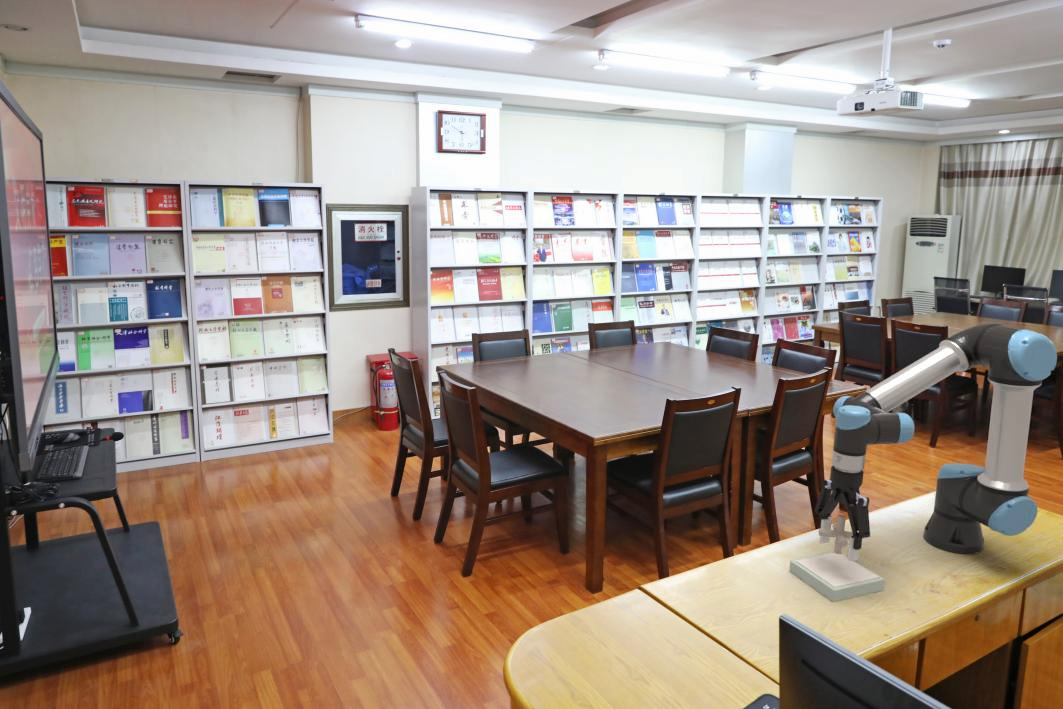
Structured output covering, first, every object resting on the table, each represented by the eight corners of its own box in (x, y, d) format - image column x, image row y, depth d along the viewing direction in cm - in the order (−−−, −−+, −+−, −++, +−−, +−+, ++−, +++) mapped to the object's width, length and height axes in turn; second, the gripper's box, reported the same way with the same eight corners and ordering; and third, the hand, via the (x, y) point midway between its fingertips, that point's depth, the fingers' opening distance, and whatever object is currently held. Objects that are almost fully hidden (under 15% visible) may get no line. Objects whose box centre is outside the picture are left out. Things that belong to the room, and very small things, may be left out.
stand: (837, 561, 202) (838, 550, 201) (883, 590, 187) (885, 578, 187) (789, 571, 196) (790, 559, 196) (833, 601, 182) (834, 589, 181)
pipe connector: (863, 564, 184) (867, 526, 182) (820, 559, 186) (824, 522, 184) (854, 545, 194) (858, 510, 192) (814, 541, 196) (817, 506, 194)
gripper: (805, 454, 194) (797, 534, 199) (869, 485, 174) (859, 573, 179) (828, 451, 197) (819, 530, 201) (894, 481, 176) (883, 568, 181)
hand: (838, 550), depth 190 cm, fingers closed on pipe connector, 9 cm apart
